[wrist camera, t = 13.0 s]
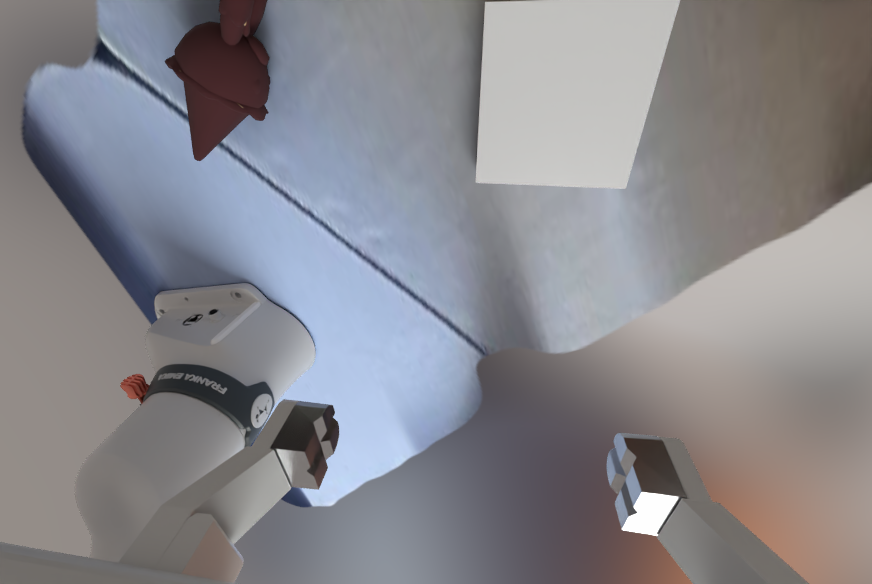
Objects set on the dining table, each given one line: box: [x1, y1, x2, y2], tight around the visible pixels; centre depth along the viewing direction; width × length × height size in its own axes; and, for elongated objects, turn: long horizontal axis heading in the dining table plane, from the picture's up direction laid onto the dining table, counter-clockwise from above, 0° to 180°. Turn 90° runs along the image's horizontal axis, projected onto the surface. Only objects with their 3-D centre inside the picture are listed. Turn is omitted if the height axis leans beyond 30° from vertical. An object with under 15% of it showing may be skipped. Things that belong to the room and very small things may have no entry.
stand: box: [476, 0, 680, 189], centre depth 28 cm, size 12×12×3 cm
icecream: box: [165, 0, 270, 161], centre depth 29 cm, size 7×7×15 cm
